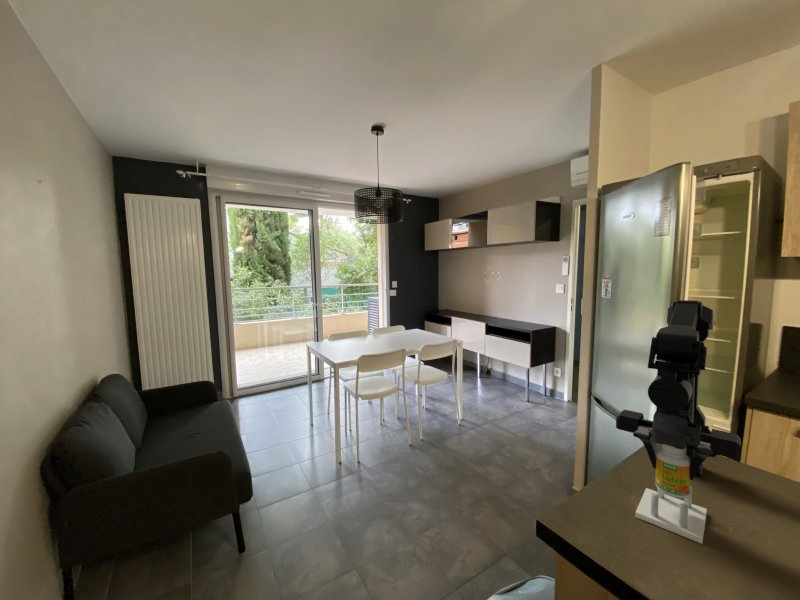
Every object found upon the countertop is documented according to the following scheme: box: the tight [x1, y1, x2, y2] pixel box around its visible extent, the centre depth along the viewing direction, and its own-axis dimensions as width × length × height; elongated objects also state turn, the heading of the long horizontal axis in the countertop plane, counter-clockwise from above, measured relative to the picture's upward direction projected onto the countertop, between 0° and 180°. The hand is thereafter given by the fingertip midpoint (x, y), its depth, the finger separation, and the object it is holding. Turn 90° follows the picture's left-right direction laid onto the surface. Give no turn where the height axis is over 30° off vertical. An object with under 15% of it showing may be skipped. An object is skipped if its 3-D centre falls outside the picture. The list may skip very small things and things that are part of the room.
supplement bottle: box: [654, 444, 691, 499], centre depth 67 cm, size 5×5×10 cm
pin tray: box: [634, 486, 708, 545], centre depth 68 cm, size 11×10×5 cm
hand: (672, 473), depth 68 cm, fingers closed on supplement bottle, 5 cm apart
